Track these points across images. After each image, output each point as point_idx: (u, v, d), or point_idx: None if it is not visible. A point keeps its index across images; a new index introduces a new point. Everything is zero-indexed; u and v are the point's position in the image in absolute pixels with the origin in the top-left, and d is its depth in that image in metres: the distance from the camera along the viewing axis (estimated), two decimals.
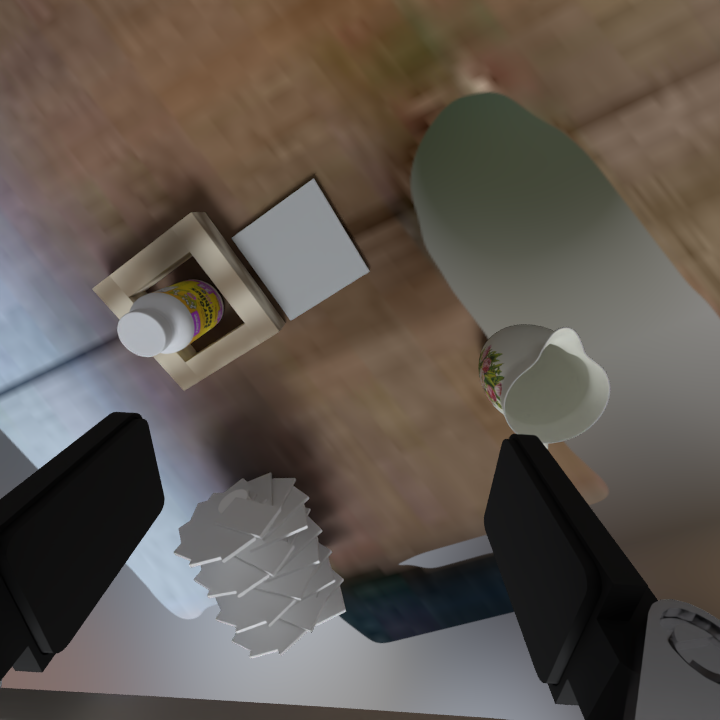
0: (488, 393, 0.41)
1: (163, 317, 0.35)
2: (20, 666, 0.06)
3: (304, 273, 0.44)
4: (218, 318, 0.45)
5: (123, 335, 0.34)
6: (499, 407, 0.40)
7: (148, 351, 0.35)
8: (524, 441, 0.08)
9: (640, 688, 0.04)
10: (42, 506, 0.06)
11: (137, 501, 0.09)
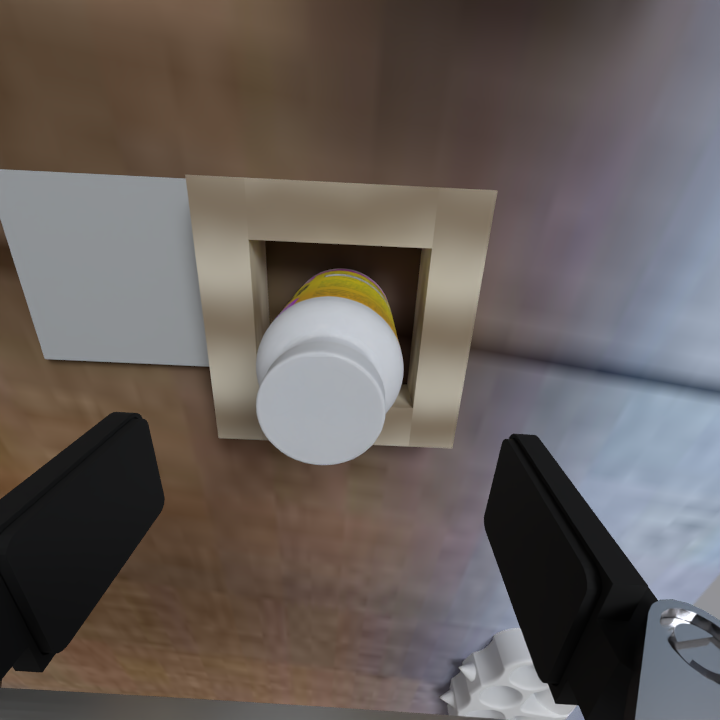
0: None
1: None
2: (20, 665, 0.06)
3: (119, 245, 0.22)
4: (311, 278, 0.21)
5: (362, 435, 0.13)
6: None
7: (339, 373, 0.12)
8: (524, 441, 0.08)
9: (640, 688, 0.04)
10: (42, 506, 0.06)
11: (137, 501, 0.09)
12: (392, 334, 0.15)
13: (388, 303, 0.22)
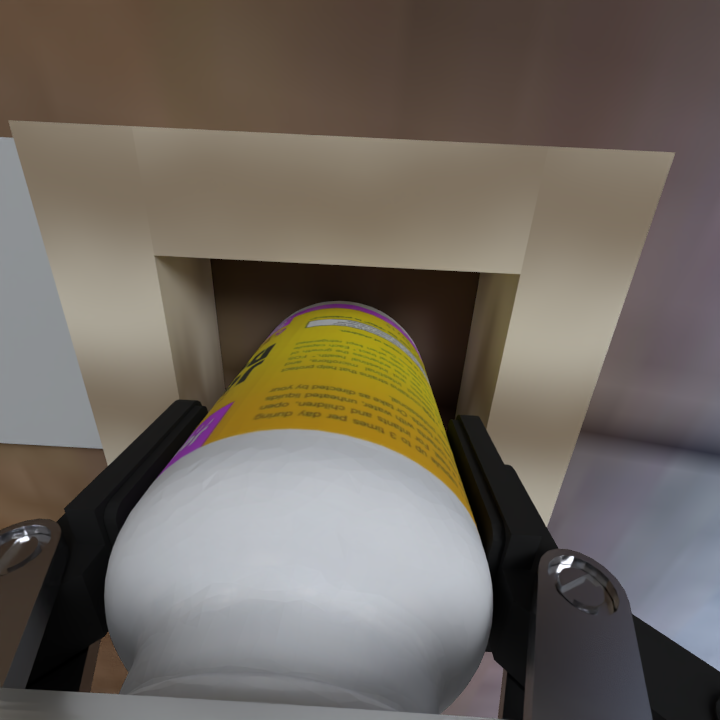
0: None
1: None
2: None
3: None
4: (286, 323, 0.12)
5: None
6: None
7: None
8: (466, 420, 0.09)
9: (536, 637, 0.05)
10: (137, 479, 0.07)
11: None
12: (471, 535, 0.05)
13: (423, 365, 0.12)
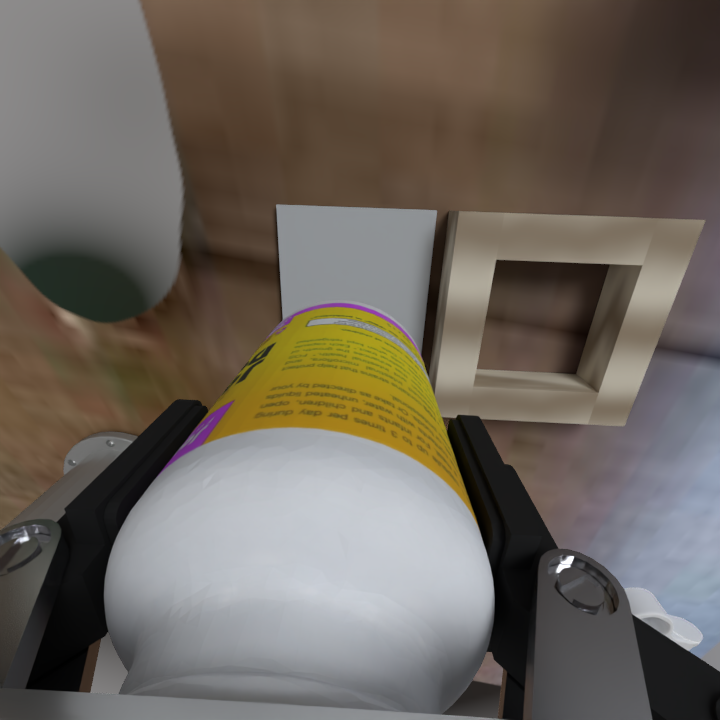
0: None
1: None
2: None
3: (367, 262, 0.28)
4: (286, 322, 0.12)
5: None
6: None
7: None
8: (466, 420, 0.09)
9: (536, 638, 0.05)
10: (137, 479, 0.07)
11: None
12: (473, 534, 0.05)
13: (424, 364, 0.12)
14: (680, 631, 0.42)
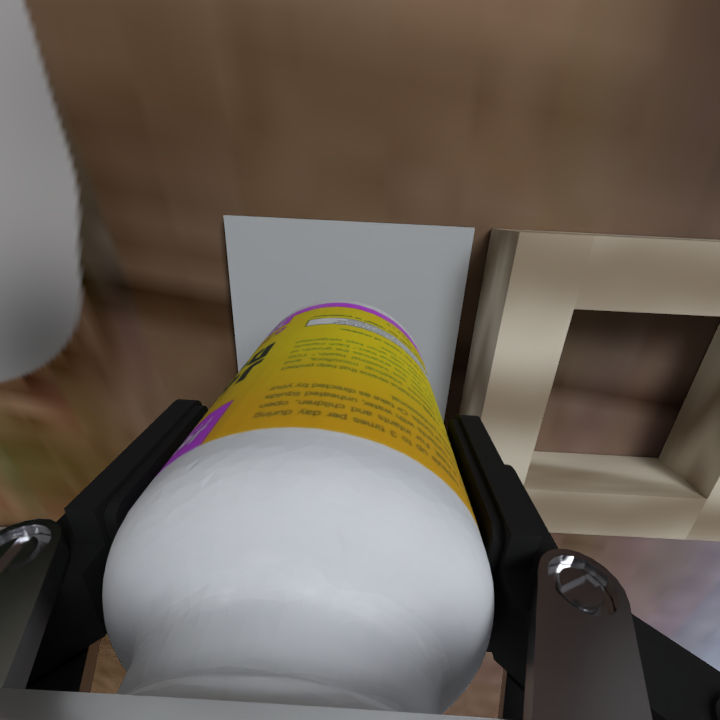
0: None
1: None
2: None
3: None
4: (285, 321, 0.12)
5: None
6: None
7: None
8: (465, 420, 0.09)
9: (536, 637, 0.05)
10: (137, 479, 0.07)
11: None
12: (472, 534, 0.05)
13: (423, 364, 0.12)
14: None
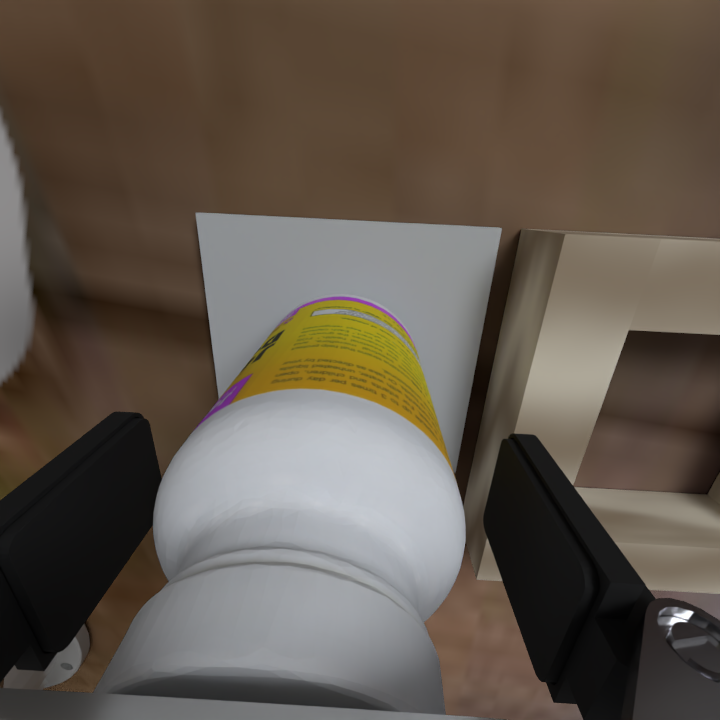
0: None
1: None
2: (23, 663, 0.06)
3: None
4: (292, 313, 0.13)
5: None
6: None
7: None
8: (523, 440, 0.08)
9: (637, 687, 0.04)
10: (44, 505, 0.06)
11: (139, 500, 0.09)
12: (446, 473, 0.07)
13: (416, 351, 0.14)
14: None
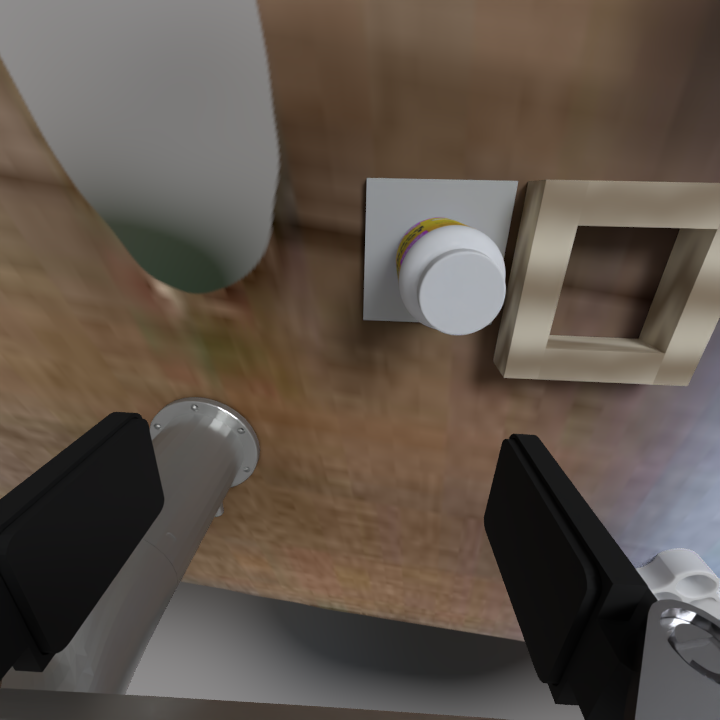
0: None
1: None
2: (20, 665, 0.06)
3: None
4: (417, 224, 0.28)
5: (488, 312, 0.19)
6: None
7: (478, 265, 0.18)
8: (524, 441, 0.08)
9: (640, 688, 0.04)
10: (42, 506, 0.06)
11: (137, 501, 0.09)
12: (499, 251, 0.21)
13: None
14: None
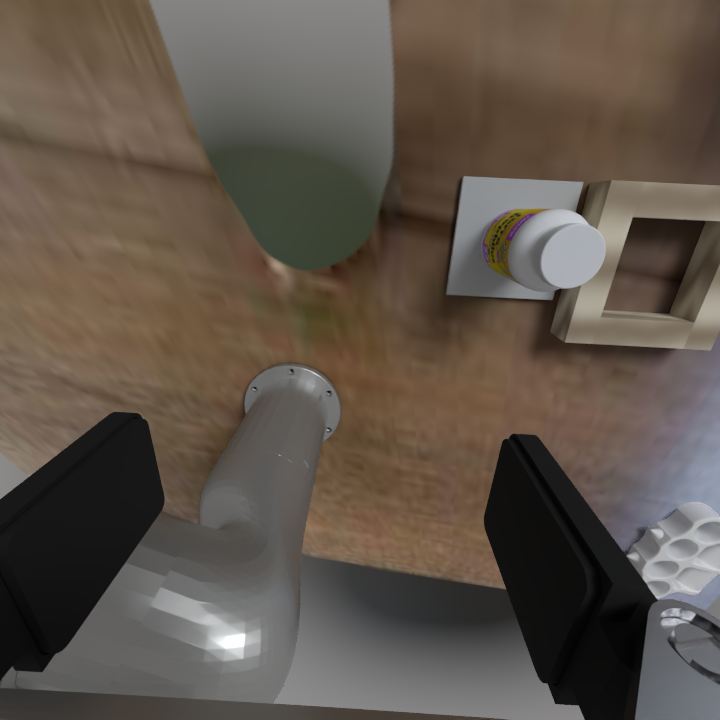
0: None
1: (534, 257, 0.27)
2: (21, 665, 0.06)
3: None
4: (505, 213, 0.35)
5: (590, 270, 0.26)
6: None
7: (588, 234, 0.25)
8: (524, 441, 0.08)
9: (640, 688, 0.04)
10: (42, 506, 0.06)
11: (137, 501, 0.09)
12: None
13: None
14: None
